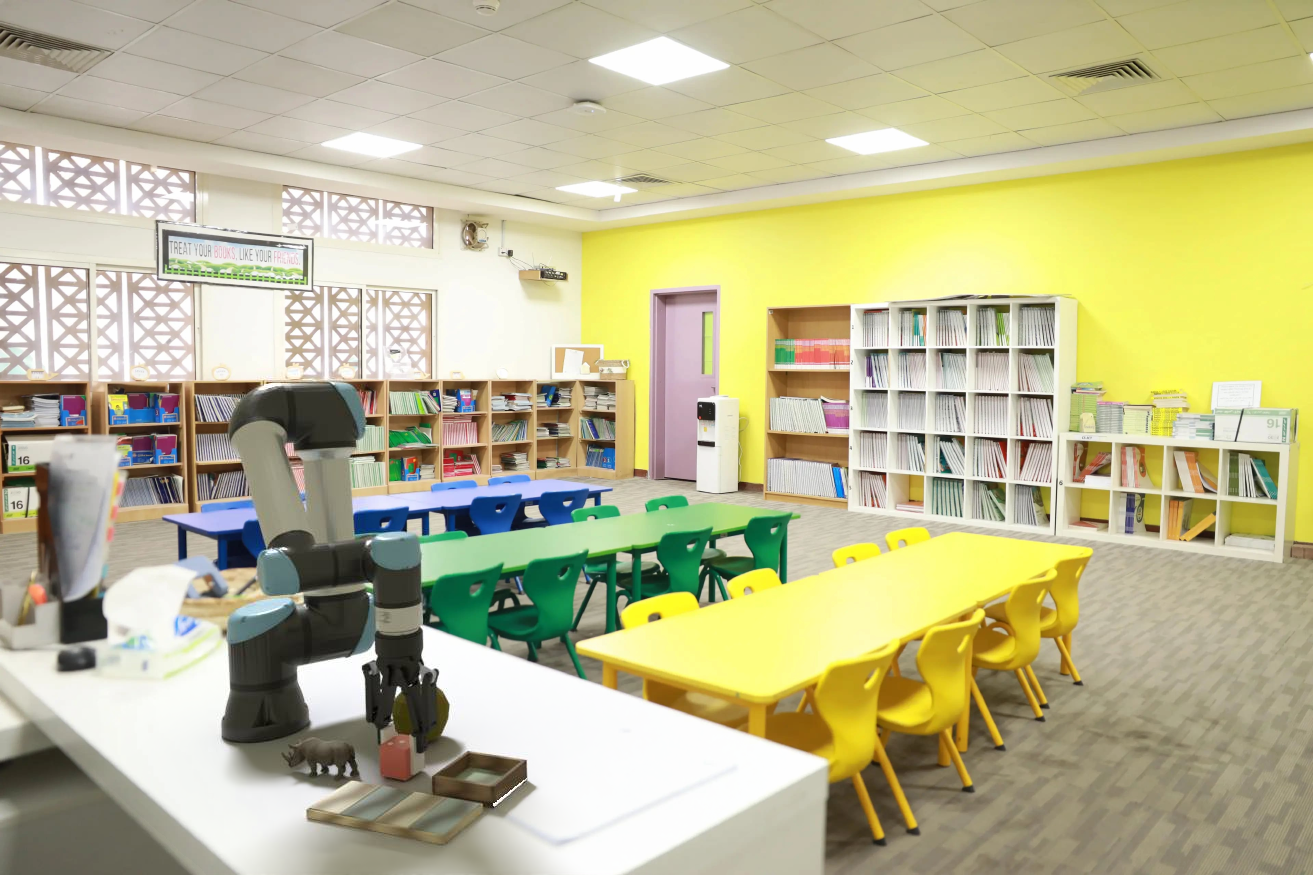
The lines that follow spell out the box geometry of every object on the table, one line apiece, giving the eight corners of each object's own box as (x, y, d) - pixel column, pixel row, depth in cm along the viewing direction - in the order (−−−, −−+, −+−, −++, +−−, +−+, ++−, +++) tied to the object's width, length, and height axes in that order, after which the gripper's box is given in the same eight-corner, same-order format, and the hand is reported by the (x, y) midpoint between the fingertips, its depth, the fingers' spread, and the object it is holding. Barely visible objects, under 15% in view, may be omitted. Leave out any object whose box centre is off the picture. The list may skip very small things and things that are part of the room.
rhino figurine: (291, 764, 150) (289, 730, 149) (363, 772, 146) (361, 736, 146) (275, 775, 146) (273, 739, 145) (348, 783, 142) (347, 746, 142)
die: (380, 775, 143) (379, 745, 143) (399, 762, 148) (399, 733, 148) (405, 780, 142) (405, 749, 141) (424, 767, 146) (424, 737, 146)
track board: (306, 817, 131) (306, 808, 131) (352, 787, 140) (352, 779, 140) (443, 844, 122) (443, 834, 122) (483, 811, 132) (482, 802, 132)
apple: (396, 755, 152) (393, 693, 152) (389, 735, 161) (387, 676, 161) (454, 745, 156) (452, 684, 156) (445, 726, 165) (442, 668, 165)
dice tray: (432, 797, 137) (431, 776, 136) (468, 770, 146) (467, 750, 146) (494, 808, 133) (493, 786, 132) (527, 779, 142) (526, 759, 142)
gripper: (337, 629, 143) (343, 769, 145) (431, 641, 136) (436, 787, 138) (368, 617, 150) (373, 750, 152) (459, 627, 143) (463, 766, 145)
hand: (403, 767), depth 145 cm, fingers closed on die, 5 cm apart
